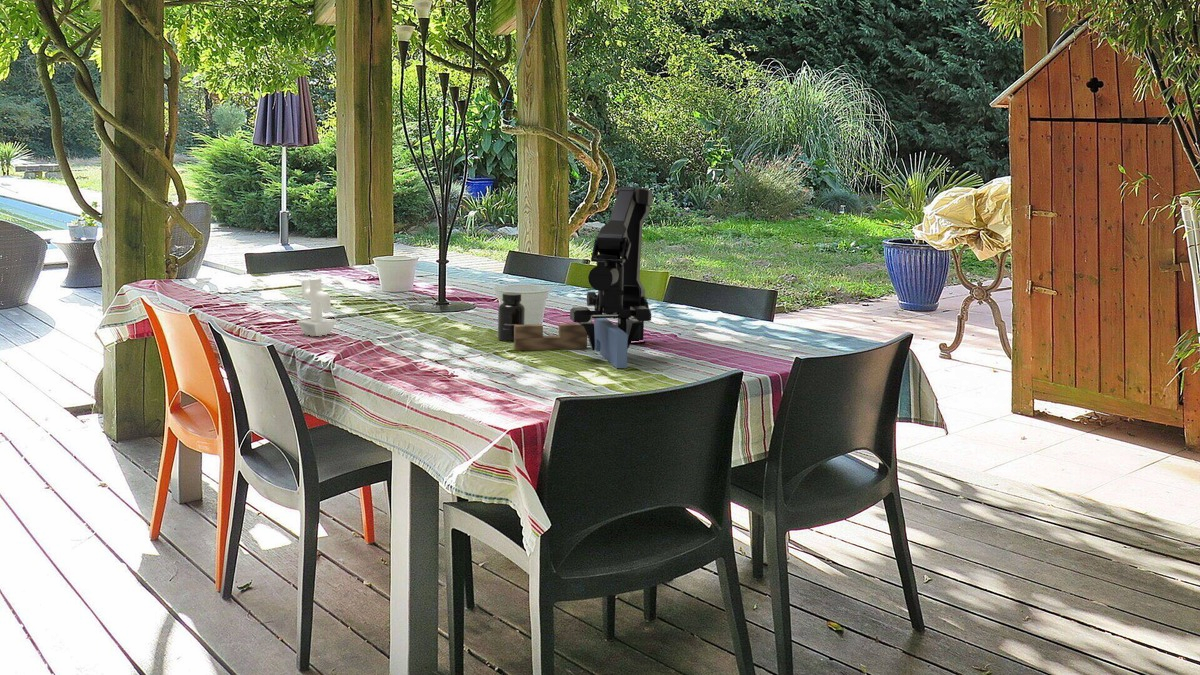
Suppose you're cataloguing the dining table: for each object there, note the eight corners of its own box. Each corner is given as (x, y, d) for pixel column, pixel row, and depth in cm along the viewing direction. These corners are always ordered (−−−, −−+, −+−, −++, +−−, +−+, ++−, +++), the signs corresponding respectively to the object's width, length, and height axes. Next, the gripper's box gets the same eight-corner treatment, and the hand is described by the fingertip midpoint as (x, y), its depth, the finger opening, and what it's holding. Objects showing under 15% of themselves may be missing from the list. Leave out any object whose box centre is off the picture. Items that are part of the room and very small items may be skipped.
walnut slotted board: (584, 346, 262) (585, 323, 261) (587, 348, 260) (587, 324, 259) (514, 348, 258) (514, 324, 257) (515, 350, 256) (515, 326, 255)
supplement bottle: (506, 343, 265) (506, 296, 263) (493, 338, 270) (493, 293, 268) (529, 340, 269) (529, 294, 267) (515, 336, 274) (515, 291, 272)
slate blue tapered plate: (593, 348, 260) (594, 316, 259) (603, 347, 261) (603, 316, 259) (616, 369, 237) (617, 334, 236) (626, 368, 238) (627, 334, 236)
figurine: (318, 339, 265) (316, 280, 263) (294, 334, 271) (292, 277, 268) (340, 335, 271) (338, 277, 268) (316, 330, 277) (314, 274, 274)
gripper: (640, 279, 256) (638, 342, 259) (565, 280, 251) (565, 344, 254) (652, 286, 245) (650, 351, 248) (575, 287, 241) (574, 353, 244)
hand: (609, 349), depth 249 cm, fingers open, 8 cm apart
